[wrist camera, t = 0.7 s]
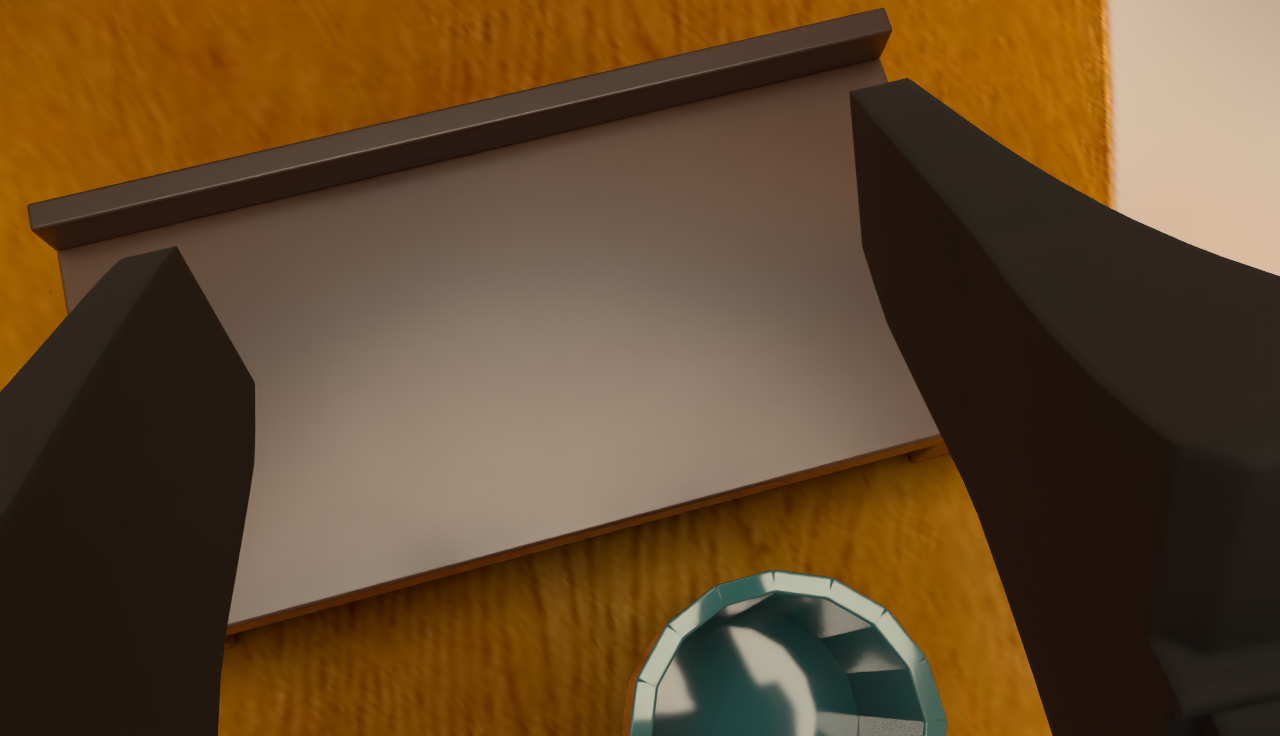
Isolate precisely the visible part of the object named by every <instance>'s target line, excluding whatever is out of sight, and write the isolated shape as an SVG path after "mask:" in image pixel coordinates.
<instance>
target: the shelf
mask: <svg viewBox="0 0 1280 736" xmlns="http://www.w3.org/2000/svg"><path fill="white" fill-rule="evenodd" d="M891 32H892V28H891V25H890V22H889V19H888V17H887V14H886V11H885V9H884V8H880V9H875V10H871V11H867V12H862V13H858V14H854V15H849V16H845V17H841V18H836V19H832V20H828V21H823V22H819V23H815V24H810V25H806V26H802V27H797V28H793V29H788V30H784V31H780V32H775V33H771V34H767V35H762V36H758V37H754V38H749V39H745V40H741V41H736V42H732V43H728V44H723V45H719V46H715V47H710V48H706V49H702V50H697V51H693V52H689V53H684V54H680V55H675V56H671V57H667V58H662V59H658V60H654V61H649V62H645V63H641V64H636V65H632V66H628V67H623V68H619V69H615V70H610V71H606V72H602V73H597V74H593V75H589V76H584V77H580V78H576V79H571V80H567V81H563V82H558V83H554V84H549V85H545V86H541V87H536V88H532V89H528V90H523V91H519V92H515V93H510V94H506V95H502V96H497V97H493V98H489V99H484V100H480V101H476V102H471V103H467V104H463V105H458V106H454V107H450V108H445V109H441V110H436V111H432V112H428V113H423V114H419V115H415V116H410V117H406V118H402V119H397V120H393V121H389V122H384V123H380V124H376V125H371V126H367V127H363V128H358V129H354V130H350V131H345V132H341V133H337V134H332V135H328V136H323V137H319V138H315V139H310V140H306V141H302V142H297V143H293V144H289V145H284V146H280V147H276V148H271V149H267V150H263V151H258V152H254V153H250V154H245V155H241V156H237V157H232V158H228V159H224V160H219V161H215V162H210V163H206V164H202V165H197V166H193V167H189V168H184V169H180V170H176V171H171V172H167V173H163V174H158V175H154V176H150V177H145V178H141V179H137V180H132V181H128V182H124V183H119V184H115V185H111V186H106V187H102V188H97V189H93V190H89V191H84V192H80V193H76V194H71V195H67V196H63V197H58V198H54V199H50V200H45V201H41V202H37V203H32V204H29V205H28V207H27V208H28V214H29V221H30V227H31V230H32V231H33V232H34V233H35V234H36V235H38V236H39V237H40V238H41V239H43V240H44V241H45V242H46V243H47V244H49V245H50V246H51V247H52V248H54V249H55V250H57V253H58V260H59V266H60V272H61V278H62V284H63V290H64V296H65V302H66V308H67V314H68V315H69V314H70V312H71V311H72V310H73V309H74V308H75V307H76V306H77V304H78V303H79V302H80V301H81V300H82V299H83V298H84V297H85V295H86V294H87V293H88V292H89V291H90V290H91V289H92V288H93V287H94V286H95V284H96V283H97V282H98V281H99V280H100V279H101V278H102V277H103V276H104V275H105V274H106V273H107V272H108V271H109V270H110V269H111V268H112V267H113V266H114V265H115V264H116V263H117V262H118V261H119V260H121V259H122V258H126V257H130V256H135V255H139V254H143V253H148V252H152V251H156V250H161V249H165V248H169V247H174V246H177V247H178V249H179V251H180V253H181V254H182V256H183V258H184V260H185V261H186V263H187V265H188V267H189V268H190V270H191V272H192V274H193V275H194V277H195V279H196V281H197V282H198V284H199V286H200V287H201V289H202V291H203V293H204V294H205V296H206V298H207V300H208V301H209V303H210V305H211V307H212V308H213V310H214V312H215V314H216V315H217V317H218V319H219V321H220V322H221V324H222V326H223V328H224V329H225V331H226V333H227V335H228V336H229V338H230V340H231V342H232V343H233V345H234V347H235V349H236V350H237V352H238V354H239V355H240V357H241V359H242V361H243V362H244V364H245V366H246V368H247V369H248V371H249V373H250V375H251V376H252V378H253V380H254V382H255V424H256V428H255V462H254V470H253V476H252V483H251V489H250V496H249V502H248V508H247V514H246V520H245V527H244V532H243V538H242V544H241V550H240V555H239V561H238V567H237V573H236V579H235V584H234V590H233V596H232V602H231V608H230V613H229V619H228V625H227V631H226V637H225V645H224V649H227V648H231V647H233V646H235V644H236V640H235V635H234V633H238V632H242V631H246V630H249V629H253V628H257V627H260V626H264V625H268V624H272V623H275V622H279V621H283V620H286V619H290V618H294V617H298V616H301V615H305V614H309V613H313V612H316V611H320V610H324V609H327V608H331V607H335V606H339V605H342V604H346V603H350V602H353V601H357V600H361V599H365V598H368V597H372V596H376V595H379V594H383V593H387V592H391V591H394V590H398V589H402V588H405V587H409V586H413V585H417V584H420V583H424V582H428V581H432V580H435V579H439V578H443V577H446V576H450V575H454V574H458V573H461V572H465V571H469V570H472V569H476V568H480V567H484V566H487V565H491V564H495V563H498V562H502V561H506V560H510V559H513V558H517V557H521V556H525V555H528V554H532V553H536V552H539V551H543V550H547V549H551V548H554V547H558V546H562V545H565V544H569V543H573V542H577V541H580V540H584V539H588V538H591V537H595V536H599V535H603V534H606V533H610V532H614V531H617V530H621V529H625V528H629V527H632V526H636V525H640V524H644V523H647V522H651V521H655V520H658V519H662V518H666V517H670V516H673V515H677V514H681V513H684V512H688V511H692V510H696V509H699V508H703V507H707V506H710V505H714V504H718V503H722V502H725V501H729V500H733V499H737V498H740V497H744V496H748V495H751V494H755V493H759V492H763V491H766V490H770V489H774V488H777V487H781V486H785V485H789V484H792V483H796V482H800V481H803V480H807V479H811V478H815V477H818V476H822V475H826V474H829V473H833V472H837V471H841V470H844V469H848V468H852V467H856V466H859V465H863V464H867V463H870V462H874V461H878V460H882V459H885V458H889V457H893V456H896V455H900V454H904V453H909V456H910V459H911V461H912V462H913V463H916V462H920V461H924V460H927V459H931V458H935V457H938V456H942V455H946V454H950V453H949V451H948V448H947V446H946V444H945V442H944V440H943V438H942V436H941V434H940V432H939V430H938V428H937V426H936V424H935V422H934V420H933V418H932V416H931V414H930V412H929V410H928V408H927V405H926V403H925V401H924V399H923V397H922V395H921V393H920V391H919V389H918V387H917V385H916V383H915V381H914V379H913V377H912V375H911V373H910V371H909V368H908V366H907V364H906V362H905V360H904V358H903V356H902V354H901V352H900V350H899V348H898V346H897V343H896V341H895V339H894V337H893V335H892V333H891V331H890V329H889V326H888V324H887V322H886V319H885V316H884V313H883V310H882V307H881V304H880V301H879V298H878V295H877V292H876V289H875V286H874V283H873V280H872V276H871V273H870V270H869V267H868V264H867V261H866V258H865V255H864V251H863V248H862V239H861V227H860V215H859V203H858V191H857V179H856V167H855V155H854V143H853V131H852V119H851V107H850V95H849V91H854V90H858V89H863V88H867V87H871V86H876V85H880V84H884V83H888V81H887V78H886V75H885V72H884V70H883V67H882V64H881V61H880V58H879V57H881V55H882V52H883V50H884V48H885V46H886V43H887V41H888V39H889V37H890V34H891Z"/></svg>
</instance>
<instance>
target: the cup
mask: <svg viewBox="0 0 1280 736" xmlns="http://www.w3.org/2000/svg"><path fill="white" fill-rule="evenodd" d="M946 731H947V721H946V715H945V712H944V709H943V706H942V702H941V699H940V696H939V693H938V690H937V687H936V684H935V681H934V678H933V675H932V671H931V668H930V665H929V662H928V660H927V659H926V656H925V655H924V653H923V652H922V651H921V650H920V648H919V647H918V646H917V645H916V643H915V642H914V641H913V640H912V639H911V637H910V636H909V635H908V634H907V632H906V631H905V630H904V629H903V627H902V626H901V625H900V624H899V622H898V621H897V620H896V619H895V617H894V616H893V615H892V614H891V612H890V611H889V610H886V608H885V607H884V606H882V605H881V604H879V603H877V602H875V601H873V600H872V599H870V598H868V597H866V596H865V595H863V594H861V593H859V592H858V591H856V590H854V589H852V588H851V587H849V586H847V585H845V584H844V583H842V582H840V581H838V580H837V579H832V578H831V577H826V576H818V575H810V574H803V573H795V572H788V571H780V570H773V571H771V570H769V571H766V572H762V573H758V574H755V575H751V576H748V577H744V578H740V579H737V580H733V581H729V582H726V583H722V584H719V585H716V586H715V587H712V588H711V589H710V590H708V591H707V592H706V593H704V594H703V595H702V596H701V597H699V598H698V599H697V600H696V601H694V602H693V603H692V604H691V605H689V606H688V607H687V608H686V609H684V610H683V611H682V612H681V613H679V614H678V615H677V616H676V617H674V618H673V619H672V620H670V621H669V622H668V623H667V624H666V625H665V626H664V627H663V628H662V629H661V630H660V631H659V632H658V633H657V634H656V635H655V636H654V637H653V638H652V639H651V641H650V643H649V645H648V647H647V648H646V650H645V652H644V654H643V655H642V657H641V659H640V660H639V662H638V664H637V667H636V668H635V670H634V672H633V674H632V676H631V677H630V679H629V683H628V687H627V695H626V701H625V706H624V719H623V727H622V733H623V734H622V736H946Z"/></svg>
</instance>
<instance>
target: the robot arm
mask: <svg viewBox="0 0 1280 736" xmlns="http://www.w3.org/2000/svg"><path fill="white" fill-rule="evenodd" d="M849 95H850V107H851V119H852V131H853V143H854V155H855V167H856V179H857V191H858V203H859V215H860V227H861V239H862V248H863V251H864V255H865V258H866V261H867V264H868V267H869V270H870V273H871V276H872V280H873V283H874V286H875V289H876V292H877V295H878V298H879V301H880V304H881V307H882V310H883V313H884V316H885V319H886V322H887V324H888V326H889V329H890V331H891V333H892V335H893V337H894V339H895V341H896V343H897V346H898V348H899V350H900V352H901V354H902V356H903V358H904V360H905V362H906V364H907V366H908V368H909V371H910V373H911V375H912V377H913V379H914V381H915V383H916V385H917V387H918V389H919V391H920V393H921V395H922V397H923V399H924V401H925V403H926V405H927V408H928V410H929V412H930V414H931V416H932V418H933V420H934V422H935V424H936V426H937V428H938V430H939V432H940V434H941V436H942V438H943V440H944V442H945V444H946V446H947V448H948V451H949V453H950V455H951V457H952V459H953V461H954V463H955V465H956V467H957V469H958V471H959V473H960V475H961V477H962V479H963V481H964V484H965V486H966V488H967V491H968V493H969V495H970V498H971V500H972V502H973V505H974V507H975V509H976V512H977V514H978V517H979V520H980V522H981V525H982V528H983V531H984V534H985V536H986V539H987V542H988V545H989V548H990V551H991V553H992V556H993V559H994V562H995V565H996V567H997V570H998V573H999V576H1000V579H1001V582H1002V584H1003V587H1004V590H1005V593H1006V596H1007V599H1008V602H1009V605H1010V608H1011V611H1012V614H1013V617H1014V620H1015V622H1016V625H1017V628H1018V631H1019V634H1020V637H1021V640H1022V643H1023V646H1024V649H1025V652H1026V655H1027V658H1028V661H1029V664H1030V667H1031V670H1032V673H1033V676H1034V679H1035V682H1036V685H1037V688H1038V691H1039V695H1040V698H1041V701H1042V704H1043V707H1044V710H1045V713H1046V716H1047V719H1048V723H1049V726H1050V729H1051V732H1052V735H1053V736H1280V276H1277V275H1274V274H1271V273H1268V272H1265V271H1262V270H1260V269H1257V268H1254V267H1251V266H1248V265H1245V264H1242V263H1239V262H1236V261H1233V260H1230V259H1227V258H1224V257H1221V256H1219V255H1216V254H1214V253H1211V252H1208V251H1206V250H1203V249H1200V248H1198V247H1195V246H1193V245H1190V244H1188V243H1185V242H1183V241H1181V240H1178V239H1176V238H1174V237H1172V236H1169V235H1167V234H1165V233H1163V232H1160V231H1158V230H1156V229H1153V228H1151V227H1149V226H1146V225H1144V224H1142V223H1140V222H1137V221H1135V220H1133V219H1131V218H1129V217H1127V216H1125V215H1123V214H1121V213H1119V212H1117V211H1115V210H1113V209H1111V208H1109V207H1107V206H1105V205H1103V204H1101V203H1099V202H1097V201H1096V200H1094V199H1092V198H1090V197H1088V196H1087V195H1085V194H1083V193H1081V192H1079V191H1077V190H1076V189H1074V188H1072V187H1070V186H1068V185H1067V184H1065V183H1063V182H1061V181H1059V180H1058V179H1056V178H1054V177H1053V176H1051V175H1049V174H1048V173H1046V172H1044V171H1043V170H1041V169H1039V168H1038V167H1036V166H1034V165H1033V164H1031V163H1030V162H1028V161H1026V160H1025V159H1023V158H1022V157H1020V156H1019V155H1017V154H1016V153H1014V152H1012V151H1011V150H1009V149H1008V148H1006V147H1005V146H1003V145H1002V144H1000V143H999V142H997V141H996V140H994V139H993V138H992V137H990V136H989V135H987V134H986V133H984V132H983V131H981V130H980V129H979V128H977V127H976V126H974V125H973V124H972V123H970V122H969V121H967V120H966V119H964V118H963V117H962V116H960V115H959V114H958V113H956V112H955V111H953V110H952V109H951V108H949V107H948V106H946V105H945V104H944V103H942V102H941V101H940V100H938V99H937V98H935V97H934V96H933V95H931V94H930V93H928V92H927V91H925V90H924V89H923V88H921V87H920V86H918V85H917V84H916V83H914V82H913V81H911V80H910V79H908V78H906V79H902V80H897V81H893V82H889V83H884V84H880V85H876V86H871V87H867V88H863V89H858V90H854V91H849ZM255 428H256V424H255V382H254V380H253V378H252V376H251V375H250V373H249V371H248V369H247V368H246V366H245V364H244V362H243V361H242V359H241V357H240V355H239V354H238V352H237V350H236V349H235V347H234V345H233V343H232V342H231V340H230V338H229V336H228V335H227V333H226V331H225V329H224V328H223V326H222V324H221V322H220V321H219V319H218V317H217V315H216V314H215V312H214V310H213V308H212V307H211V305H210V303H209V301H208V300H207V298H206V296H205V294H204V293H203V291H202V289H201V287H200V286H199V284H198V282H197V281H196V279H195V277H194V275H193V274H192V272H191V270H190V268H189V267H188V265H187V263H186V261H185V260H184V258H183V256H182V254H181V253H180V251H179V249H178V247H177V246H174V247H169V248H165V249H161V250H156V251H152V252H148V253H143V254H139V255H135V256H130V257H126V258H122V259H121V260H119V261H118V262H117V263H116V264H115V265H114V266H113V267H112V268H111V269H110V270H109V271H108V272H107V273H106V274H105V275H104V276H103V277H102V278H101V279H100V280H99V281H98V282H97V283H96V284H95V286H94V287H93V288H92V289H91V290H90V291H89V292H88V293H87V294H86V295H85V297H84V298H83V299H82V300H81V301H80V302H79V303H78V304H77V306H76V307H75V308H74V309H73V310H72V311H71V312H70V314H69V315H68V316H67V317H66V318H65V319H64V320H63V322H62V323H61V324H60V325H59V326H58V327H57V329H56V330H55V331H54V332H53V333H52V334H51V335H50V337H49V338H48V339H47V340H46V341H45V342H44V343H43V344H42V346H41V347H40V348H39V349H38V350H37V351H36V352H35V354H34V355H33V356H32V357H31V358H30V359H29V360H28V362H27V363H26V364H25V365H24V366H23V367H22V368H21V369H20V371H19V372H18V373H17V374H16V375H15V376H14V377H13V379H12V380H11V381H10V382H9V383H8V384H7V385H6V386H5V388H4V389H3V390H2V391H1V392H0V736H218V719H219V699H220V679H221V669H222V661H223V653H224V645H225V637H226V631H227V625H228V619H229V613H230V608H231V602H232V596H233V590H234V584H235V579H236V573H237V567H238V561H239V555H240V550H241V544H242V538H243V532H244V527H245V520H246V514H247V508H248V502H249V496H250V489H251V483H252V476H253V470H254V462H255Z"/></svg>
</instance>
